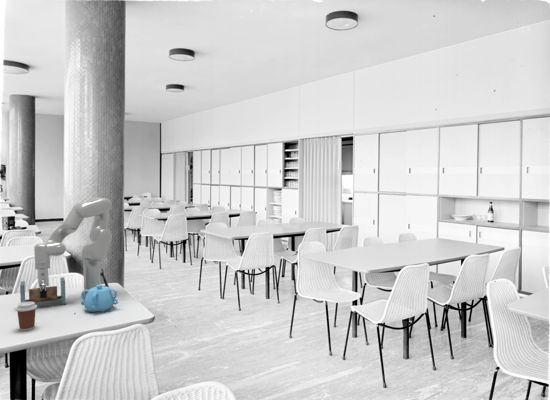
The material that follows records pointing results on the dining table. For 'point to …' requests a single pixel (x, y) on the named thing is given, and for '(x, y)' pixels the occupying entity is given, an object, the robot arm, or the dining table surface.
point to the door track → (46, 303)
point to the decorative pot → (99, 299)
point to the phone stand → (104, 279)
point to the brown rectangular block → (35, 294)
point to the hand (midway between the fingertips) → (43, 295)
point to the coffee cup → (26, 315)
